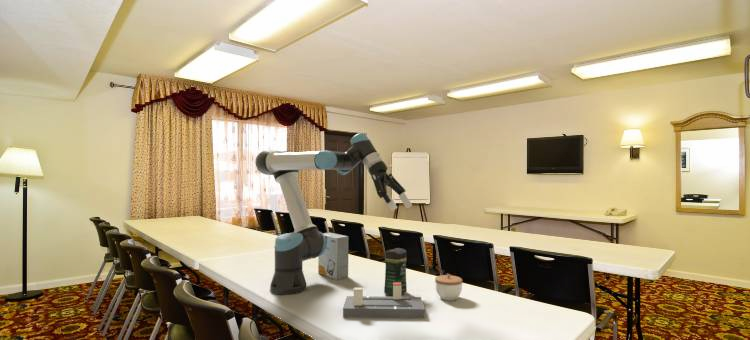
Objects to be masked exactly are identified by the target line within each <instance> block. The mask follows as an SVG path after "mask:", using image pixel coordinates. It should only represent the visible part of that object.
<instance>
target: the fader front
mask: <svg viewBox="0 0 750 340" xmlns="http://www.w3.org/2000/svg"><path fill="white" fill-rule="evenodd" d="M363 293H364V291H363V287H353V296H354V305H355V306H362V304H363Z"/></svg>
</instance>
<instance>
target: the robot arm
mask: <svg viewBox="0 0 750 340" xmlns="http://www.w3.org/2000/svg"><path fill="white" fill-rule="evenodd" d="M350 145H351V147H350V148H348V149H347V150H346V151H344V152H342V151H333V150H327V149H325V150H324V149H323V150H320V151H299V152H291V151H288V150H287V151H286V150H284V151H280V150H270V149H266V150H262V151H261V152H260V153H258V154H257V156H256V158H255V166H256V169H257V170H258V171H259V172H260V173H262V174H264V175H267V176H268V175H269V176H273V178H274V181H275V182H276V183H278V184H279V186H280V189H281V192H282V196H283V198H284V201H285V204H286V208H287V211H288V214H289V217H290V220H291V223H292V226H293V229H294V231H293V232H289V233H287V232H286V233H283V234H280V235H277V236H276V238H275V239H274V241H275V242H274V246H273V247H274V273H273V277H272V279H271V282H270V285H269V286H270V287H269V290H270V292H271V293H272V294H276V295H292V294H293V295H294V294H295V295H296V294H298V293H302V292H304V291H306V290H307V281H306V277H305V275H304V271H303V262H304V261H308V260H311V259H315V258H318V256H320V255H322V254H323V253H324V251H325V249H326V246H327V240H326V237H325V235H324V234H323V232H321V231H319V229H318V226H317V225H315V224H313V222H312V220H311V216H310V213H309V211H308V207H307V204H306V202H305V198H304V196H303V191H302V189H301V186H300V183H299V180H298V176H299V175H300V174H299V171H306V170H307V171H308V170H309V171H312V170H313V171H314V170H315V171H316V170H319V171H320V170H322V171H326V170H327V171H328V170H332V171H333V170H335V171H336V172H337V173H338V174H340V175H342V176H345V175H347V174H348V173H350V172H352V170H353V169H354V168H356V167H357V166H358V165H359V164H360V163H361V162H362V163H363V165H364V167H365V168H366V170H368V171H367V172H368V173H369V174H370V177H371V180H372V181H373V184H374V188H375V190H376V194H377V196H378V197H379V198H380V199H382V198H383V200H384V202H385V203H386V205H387V207H388V208H389V210H390V211H391V212H394V211H395V210H396V209H398V206H397V205H396V203H395V201H394V200H393V197H392V196H391V194H390V193H388V190H387V187H389V188H390V189H392V190H393V191H394V192H395V193H396V194H397V195H398V198H399V199H400V201H401V203H402V204H403V205H404V206H405V209H407V210H408V209H409V208H411V207H412V206H413V204H412V202H411V201H410V199H409V198H408V196H407V194H406V193H405V192H406V191H407V190H406V189H405V188H404V187H403V186H402V185H401V184H400V183H399V181H398V180H397V179H396V178H395V177H394V176H393V174H392V173H387V171H388V167H387V165H386V163H385V161H383V159H382V157H381V156H380V155H381V154H380V153H379V152H378V151H377V149H376V148H375V146H374V145H373V143H372V141H371V139H370V138H369V137H368V136H367V134H366V133H363V132H360V133H357V134H355V135H353V136H352V137H351V139H350Z"/></svg>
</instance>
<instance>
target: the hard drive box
mask: <svg viewBox="0 0 750 340" xmlns="http://www.w3.org/2000/svg"><path fill="white" fill-rule="evenodd" d="M322 233H323V232H322ZM323 234H324V235H325V237H326V240H327V246H326V249H325V251H324V253H323V254H322V255H320V256H318V257H317V258H318V261H317V262H318V265H317V266H318V269H317V270H318V274H320V275H322V276H325V277H328V278H330V279H333V280H336V281H337V280H343V279H345V278H349V235H348V236H347V235H345V234H344V235H343V234H339V233H333V232H324V233H323Z"/></svg>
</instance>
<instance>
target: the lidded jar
mask: <svg viewBox="0 0 750 340" xmlns="http://www.w3.org/2000/svg"><path fill="white" fill-rule="evenodd" d="M434 281H435V282H434V284H435V289H436V293H437V295H438V296H439V297H440V299H441V300H444V301H448V302H449V301H455V300H457V298H459V297H460V295H461V292H462V289H463V279H462V277H460V276H456V275H451V274H450V273H447V274H445V275H443V274H441V275H437V276H435V278H434Z"/></svg>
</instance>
